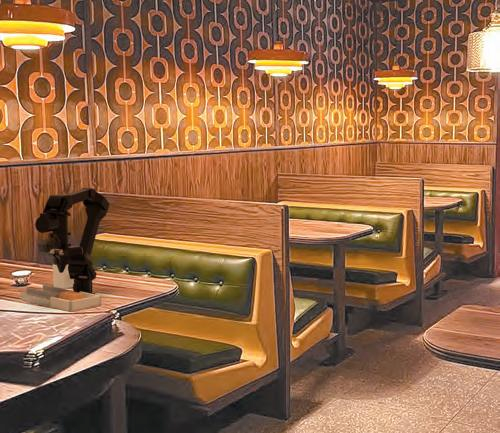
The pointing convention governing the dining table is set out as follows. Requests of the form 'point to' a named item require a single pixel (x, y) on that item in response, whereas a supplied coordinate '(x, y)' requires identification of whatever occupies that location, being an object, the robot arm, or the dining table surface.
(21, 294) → the slot plate
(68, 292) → the orange rounded block
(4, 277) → the dining table surface
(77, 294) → the orange cube
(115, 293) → the dining table surface
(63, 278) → the jar
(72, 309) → the chip tray
